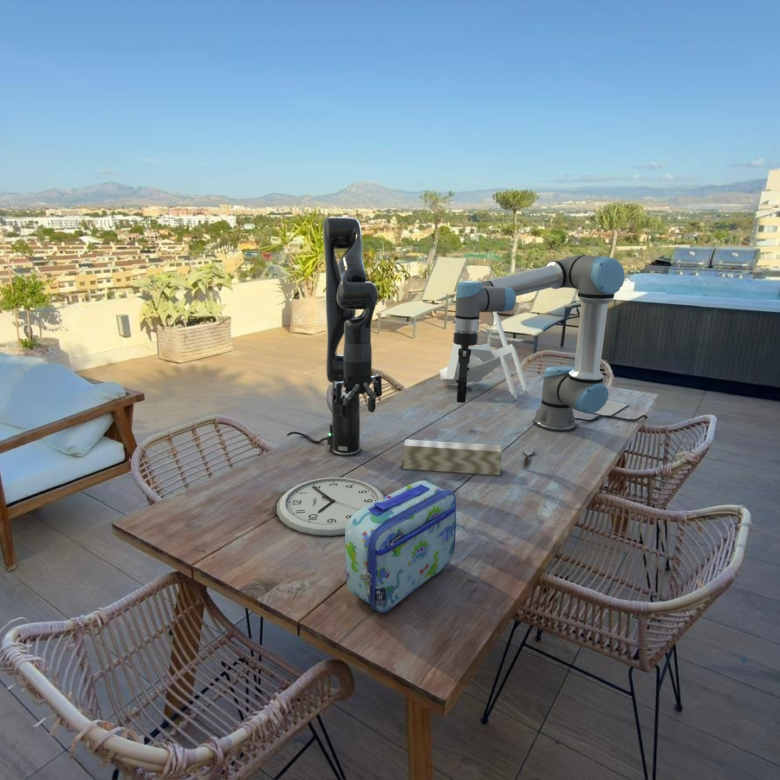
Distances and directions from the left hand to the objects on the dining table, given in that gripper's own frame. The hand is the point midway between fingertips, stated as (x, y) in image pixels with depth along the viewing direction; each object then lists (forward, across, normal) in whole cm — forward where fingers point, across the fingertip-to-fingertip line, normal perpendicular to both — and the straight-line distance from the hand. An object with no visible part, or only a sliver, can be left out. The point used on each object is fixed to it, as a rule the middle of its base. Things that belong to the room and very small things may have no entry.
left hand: (357, 414), depth 145 cm
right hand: (+3, -41, -4) cm, 41 cm away
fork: (+24, -58, +12) cm, 64 cm away
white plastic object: (+25, -95, -51) cm, 111 cm away
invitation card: (+25, -127, -9) cm, 129 cm away
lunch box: (+22, +13, +42) cm, 49 cm away
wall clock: (+23, +11, +4) cm, 26 cm away
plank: (+24, -32, +4) cm, 40 cm away
